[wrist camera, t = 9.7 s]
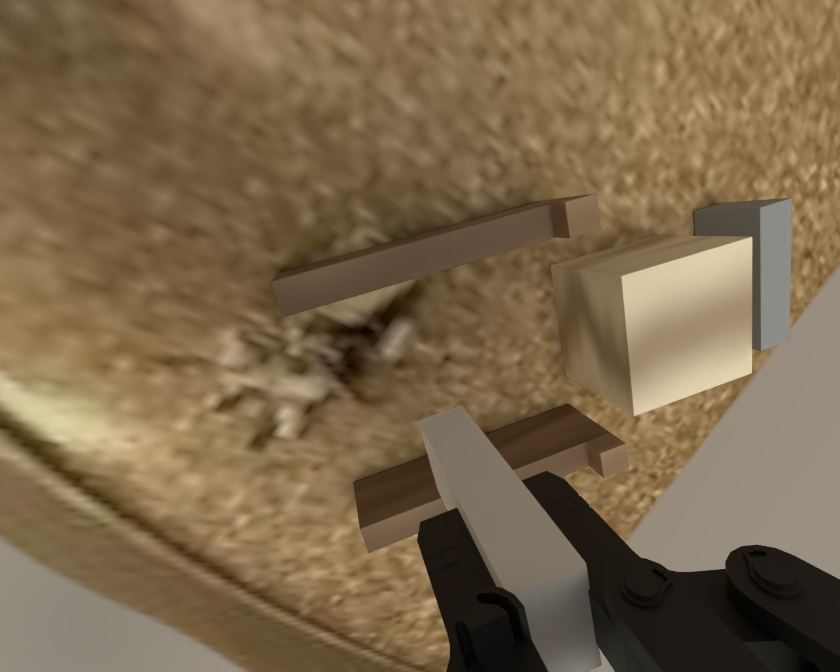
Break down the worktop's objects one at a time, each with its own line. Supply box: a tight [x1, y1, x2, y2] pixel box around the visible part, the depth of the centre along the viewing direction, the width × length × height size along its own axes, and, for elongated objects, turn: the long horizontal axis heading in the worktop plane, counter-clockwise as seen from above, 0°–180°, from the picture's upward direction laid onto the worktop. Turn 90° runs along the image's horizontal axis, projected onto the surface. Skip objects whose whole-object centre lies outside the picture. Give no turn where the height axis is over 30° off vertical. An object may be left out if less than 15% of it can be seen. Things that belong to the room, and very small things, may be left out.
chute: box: [271, 194, 629, 553], centre depth 21 cm, size 14×14×5 cm
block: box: [550, 235, 752, 416], centre depth 23 cm, size 7×7×6 cm
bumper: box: [694, 198, 792, 351], centre depth 25 cm, size 8×2×4 cm, turn 15°
